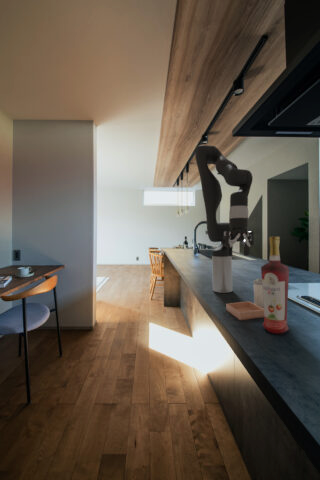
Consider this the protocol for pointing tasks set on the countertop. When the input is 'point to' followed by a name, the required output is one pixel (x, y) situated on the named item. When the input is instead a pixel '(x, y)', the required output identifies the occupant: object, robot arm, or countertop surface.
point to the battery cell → (258, 293)
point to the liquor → (275, 290)
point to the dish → (245, 310)
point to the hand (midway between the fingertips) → (238, 255)
